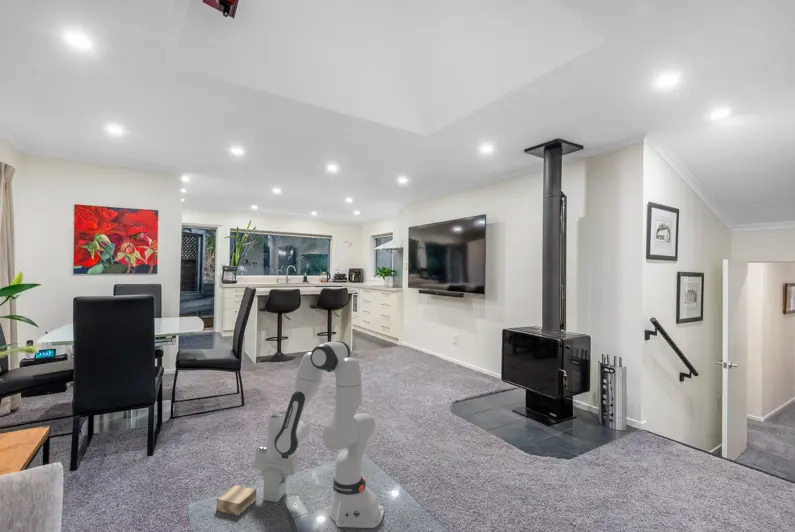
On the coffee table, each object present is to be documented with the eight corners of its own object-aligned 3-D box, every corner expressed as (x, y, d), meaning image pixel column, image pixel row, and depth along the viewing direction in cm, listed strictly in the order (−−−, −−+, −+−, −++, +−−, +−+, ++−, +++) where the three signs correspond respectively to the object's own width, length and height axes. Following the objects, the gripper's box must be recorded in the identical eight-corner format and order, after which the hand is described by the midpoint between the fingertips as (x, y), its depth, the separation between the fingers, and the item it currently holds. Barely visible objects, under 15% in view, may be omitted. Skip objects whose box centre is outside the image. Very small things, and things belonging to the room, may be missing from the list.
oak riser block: (255, 501, 160) (256, 489, 160) (238, 516, 149) (239, 503, 150) (234, 496, 163) (235, 485, 163) (216, 511, 152) (216, 498, 153)
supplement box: (277, 502, 159) (279, 472, 160) (262, 499, 161) (263, 470, 161) (286, 493, 166) (287, 464, 167) (271, 490, 168) (272, 462, 168)
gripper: (251, 449, 164) (250, 481, 163) (293, 456, 159) (292, 488, 159) (260, 443, 170) (258, 474, 169) (300, 449, 166) (299, 481, 165)
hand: (275, 481), depth 164 cm, fingers open, 8 cm apart
